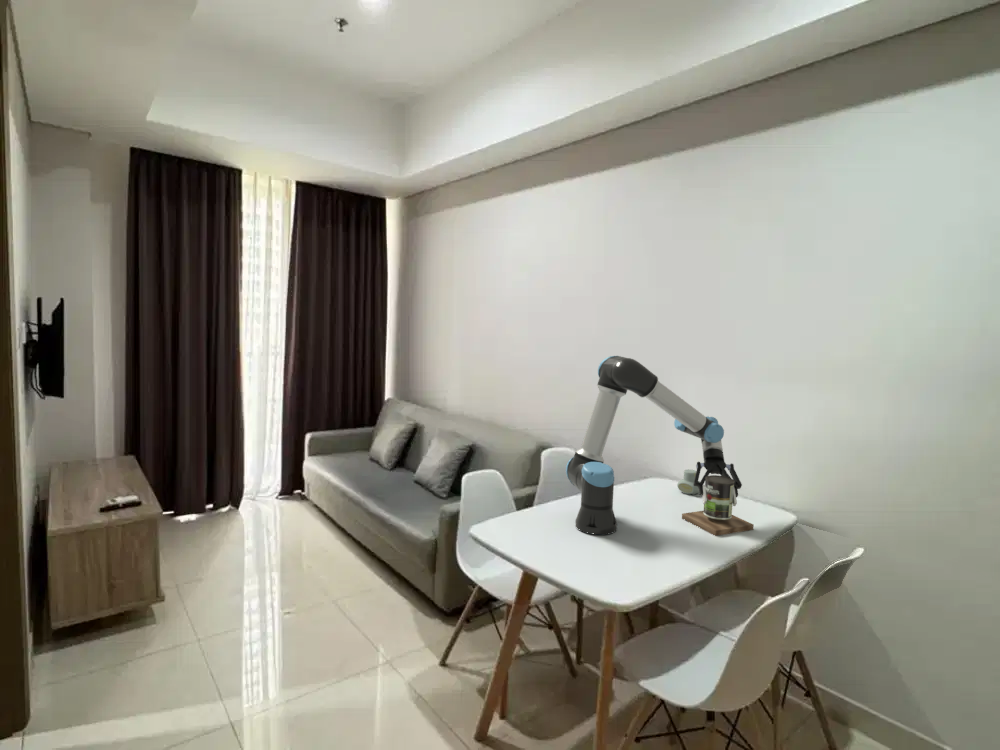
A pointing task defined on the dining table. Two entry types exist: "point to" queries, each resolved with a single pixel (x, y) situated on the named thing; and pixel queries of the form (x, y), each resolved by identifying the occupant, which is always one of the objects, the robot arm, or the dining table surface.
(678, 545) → the dining table surface
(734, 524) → the walnut board
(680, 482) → the air freshener
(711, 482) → the coffee can
